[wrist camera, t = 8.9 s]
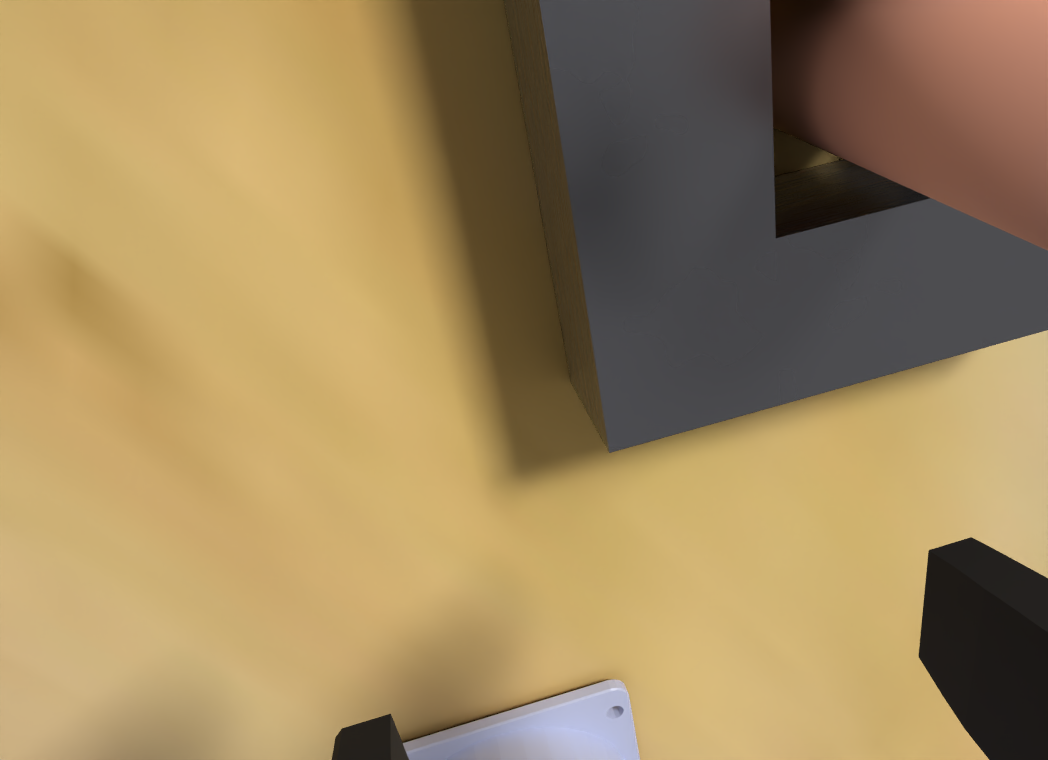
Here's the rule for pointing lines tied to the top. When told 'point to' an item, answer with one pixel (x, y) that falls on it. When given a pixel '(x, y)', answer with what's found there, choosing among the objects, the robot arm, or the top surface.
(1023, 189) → the pin
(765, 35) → the collar block
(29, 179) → the top surface
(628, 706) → the robot arm
